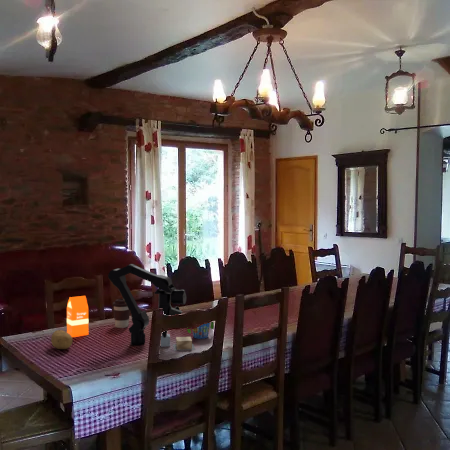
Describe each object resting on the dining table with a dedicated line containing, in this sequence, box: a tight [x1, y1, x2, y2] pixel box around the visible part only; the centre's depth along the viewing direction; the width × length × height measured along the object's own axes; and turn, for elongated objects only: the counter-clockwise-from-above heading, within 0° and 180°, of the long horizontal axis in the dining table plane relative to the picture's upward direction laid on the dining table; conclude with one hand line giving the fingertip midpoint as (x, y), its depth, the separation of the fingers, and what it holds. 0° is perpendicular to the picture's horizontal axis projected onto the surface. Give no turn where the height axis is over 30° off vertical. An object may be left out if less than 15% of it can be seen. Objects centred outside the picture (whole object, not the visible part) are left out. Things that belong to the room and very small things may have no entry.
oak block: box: [175, 336, 193, 350], centre depth 241 cm, size 7×7×4 cm
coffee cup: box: [112, 298, 131, 329], centre depth 281 cm, size 10×10×15 cm
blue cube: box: [161, 333, 171, 348], centre depth 245 cm, size 5×5×5 cm
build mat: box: [172, 343, 196, 352], centre depth 241 cm, size 10×10×1 cm
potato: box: [50, 329, 73, 350], centre depth 238 cm, size 10×14×8 cm
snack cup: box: [186, 321, 215, 340], centre depth 260 cm, size 16×10×10 cm
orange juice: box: [66, 295, 89, 338], centre depth 263 cm, size 8×9×20 cm
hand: (164, 335), depth 245 cm, fingers open, 9 cm apart
